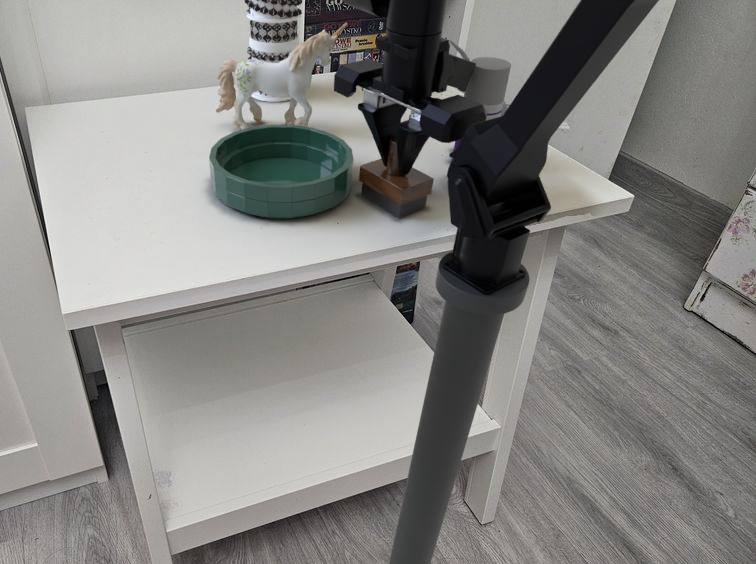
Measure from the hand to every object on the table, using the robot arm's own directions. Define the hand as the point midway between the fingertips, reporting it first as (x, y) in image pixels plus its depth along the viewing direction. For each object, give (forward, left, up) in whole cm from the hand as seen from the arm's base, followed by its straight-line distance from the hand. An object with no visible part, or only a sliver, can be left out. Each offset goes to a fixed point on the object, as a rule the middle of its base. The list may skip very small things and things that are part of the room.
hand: (396, 170), depth 76 cm
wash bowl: (+11, +9, -4) cm, 15 cm away
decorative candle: (+39, -9, -4) cm, 40 cm away
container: (-2, -11, -4) cm, 12 cm away
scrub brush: (0, 0, -4) cm, 4 cm away
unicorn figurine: (+28, -3, -4) cm, 29 cm away
